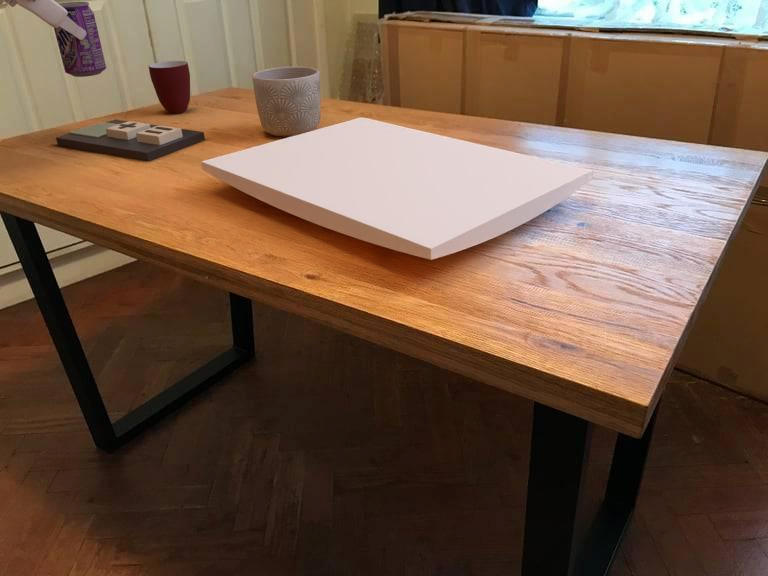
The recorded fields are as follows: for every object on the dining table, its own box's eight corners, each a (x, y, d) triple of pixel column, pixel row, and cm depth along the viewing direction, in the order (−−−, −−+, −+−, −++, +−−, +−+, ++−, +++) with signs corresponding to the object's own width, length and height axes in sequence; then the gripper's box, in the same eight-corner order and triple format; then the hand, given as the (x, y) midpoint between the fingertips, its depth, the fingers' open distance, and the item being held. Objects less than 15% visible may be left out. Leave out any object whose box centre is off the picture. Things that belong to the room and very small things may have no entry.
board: (589, 203, 90) (593, 170, 87) (430, 288, 70) (431, 248, 68) (363, 143, 118) (361, 117, 116) (206, 191, 99) (201, 161, 96)
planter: (272, 122, 133) (266, 66, 128) (331, 123, 131) (327, 66, 126) (249, 139, 123) (241, 79, 117) (313, 141, 120) (307, 80, 115)
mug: (161, 106, 149) (152, 60, 144) (198, 103, 150) (190, 57, 145) (155, 117, 140) (145, 69, 135) (194, 114, 141) (186, 66, 136)
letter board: (57, 145, 124) (52, 128, 122) (117, 126, 134) (113, 110, 133) (148, 161, 113) (144, 142, 112) (205, 139, 124) (202, 122, 122)
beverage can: (60, 74, 122) (42, 4, 116) (99, 68, 126) (83, 0, 120) (73, 79, 117) (55, 6, 111) (113, 73, 121) (97, 2, 115)
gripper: (19, -37, 102) (100, 25, 110) (9, -40, 117) (82, 14, 126) (-4, -3, 102) (79, 56, 111) (-11, -11, 117) (63, 41, 126)
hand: (80, 34), depth 119 cm, fingers closed on beverage can, 6 cm apart
